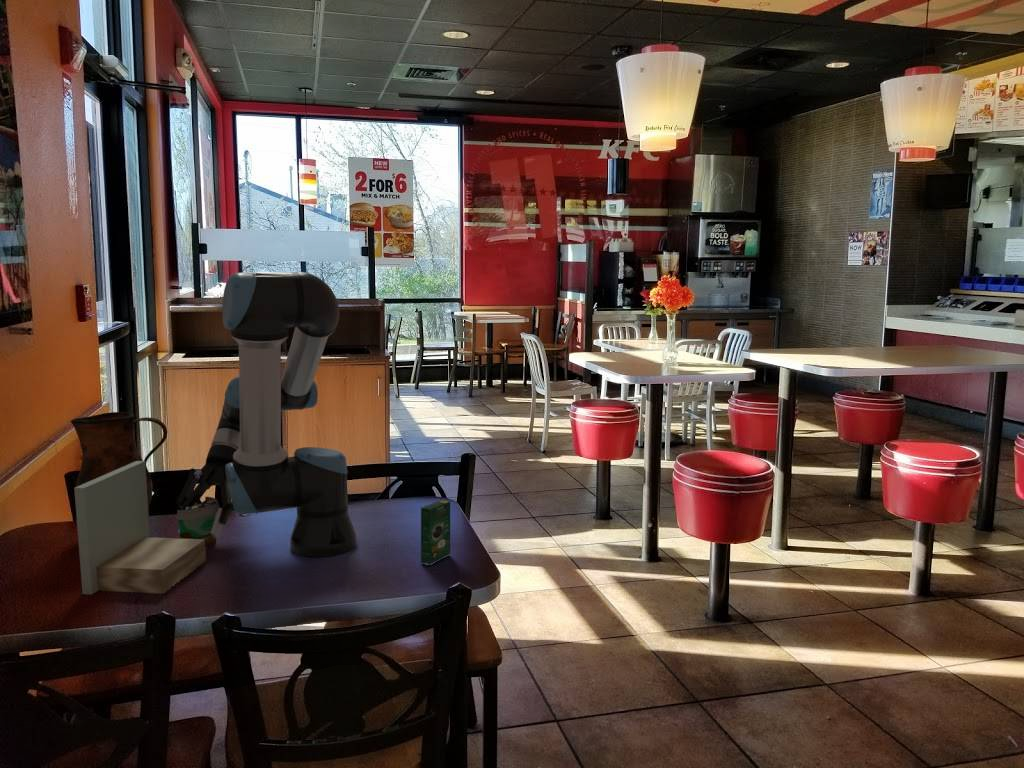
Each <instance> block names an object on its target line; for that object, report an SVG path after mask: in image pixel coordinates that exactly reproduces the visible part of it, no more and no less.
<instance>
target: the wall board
mask: <svg viewBox="0 0 1024 768" xmlns="http://www.w3.org/2000/svg"><path fill="white" fill-rule="evenodd" d="M73 489H74V501H75V502H74V503H75V512H76V513H75V514H76V515H75V516H76V527H77V528H76V529H77V539H78V553H79V563H80V565H79V568H80V578H81V579H80V580H81V592H82V595H94V594H95V593H96V592H98V583H97V569H96V567H97V566H99V565H100V564H102V563H104V562H105V561H107V560H109V559H110V558H112V557H113V556H115V555H117V554H118V553H120V552H122V551H123V550H125V549H127V548H128V547H130V546H131V545H133V544H135V543H136V542H138V541H140V540H141V539H143V538H144V537H151V533H150V531H151V530H150V515H149V506H148V497H147V482H146V467H145V461H144V460H143V461H135V462H133V463H131V464H128V465H126V466H124V467H121V468H119V469H117V470H114V471H112V472H110V473H108V474H105V475H103V476H101V477H98V478H96V479H94V480H91V481H89V482H87V483H84V484H82V485H80V486H77V487H76V486H75V487H73ZM93 593H94V594H93Z"/></svg>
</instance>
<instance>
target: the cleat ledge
mask: <svg viewBox="0 0 1024 768" xmlns="http://www.w3.org/2000/svg"><path fill="white" fill-rule="evenodd" d="M206 553H207V551H206V548H205V539H181V537H179V538H178V537H177V538H176V537H173V538H172V537H151V536H150V537H144V538H143V539H141V540H140V541H138V542H136V543H135V544H133V545H131V546H130V547H128V548H127V549H125V550H123V551H122V552H120V553H118V554H117V555H115V556H113V557H112V558H110V559H109V560H107V561H105V562H104V563H102V564H100V565H99V566H97V567H96V569H97V583H98V590H102V591H104V592H121V593H147V594H165V593H167V592H168V591H169V590H170V589H172V588H173V587H174V586H175V584H176V583H177V582H178V583H180V582H181V581H182V580H183V579H185V578H186V577H187V576H189V575H190V574H191V573H192V572H194V571H195V570H196V569H197V567H198V566H199V567H200V566H201V565H203V564H204V563H205V562H206V561H207V556H206V555H207V554H206ZM199 567H198V568H199ZM193 570H194V571H193ZM189 573H190V574H189ZM184 577H185V578H184ZM181 579H182V580H181ZM180 580H181V581H180ZM178 583H177V584H178ZM177 584H176V585H177ZM172 586H173V587H172ZM171 587H172V588H171ZM167 590H168V591H167Z"/></svg>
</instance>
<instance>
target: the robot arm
mask: <svg viewBox="0 0 1024 768" xmlns="http://www.w3.org/2000/svg"><path fill="white" fill-rule="evenodd" d="M221 304H222V306H221V312H222V317H221V319H222V325H223V327H224V328H225V329H226V330H229V331H230V336H231V338H232V339H233V340H234V341H235V342H236V343H237V344H238V371H239V372H238V373H239V374H238V375H237V376H236V377H233V378H232V379H230V381H229V383H228V385H227V387H226V390H225V393H224V399H223V400H224V403H223V405H222V410H221V415H220V419H219V422H218V425H217V427H216V430H215V433H214V436H213V438H212V441H211V444H210V448H209V449H208V453H207V456H206V460H205V464H204V465H203V466H202V468H199V469H195V468H194V467H191V468H190V469H189V472H188V473H189V474H188V478H187V480H186V482H185V483H184V486H183V488H182V490H181V492H180V494H179V496H178V498H177V500H176V502H175V503H176V504H177V506H178V507H179V509H180V510H187V509H188V508H189V507H191V506H192V505H195V504H198V502H199V501H200V500H201V498H202V497H203V496H204V494H205V493H206V492H207V490H209V489H211V487H212V486H219V487H220V493H221V495H220V496H221V507H220V508H218V512H217V515H216V518H215V521H214V524H213V527H212V530H211V534H212V536H213V537H214V538H215V539H216V540H217V539H219V536H220V532H221V530H222V527H223V525H226V524H227V522H228V519H229V515H230V512H233V511H235V512H236V513H238V514H240V515H249V514H251V515H252V514H256V515H258V514H259V513H266V512H272V511H275V512H276V511H279V510H280V511H281V510H286V509H293V508H295V509H296V519H295V523H294V525H293V529H292V532H291V535H290V540H289V542H290V545H289V546H290V551H291V552H292V553H293V554H296V555H297V556H298V555H299V556H303V557H311V558H312V557H314V558H319V557H320V558H323V557H333V556H337V555H341V554H345V553H347V552H349V551H351V550H353V549H354V548H355V547H356V546H357V535H356V534H357V533H356V530H355V528H354V526H353V523H352V521H351V517H350V515H349V508H348V507H349V503H348V500H349V499H348V498H349V497H348V474H349V471H348V465H347V458H346V455H345V454H344V453H343V452H341V451H339V450H336V449H332V448H327V447H317V446H316V447H315V446H313V447H312V446H309V447H306V446H305V447H300V448H297V449H295V451H294V453H293V456H289V454H288V451H287V450H286V449H285V448H283V447H282V443H281V442H282V441H281V439H282V438H281V436H282V434H281V432H282V426H281V425H282V415H281V414H282V411H293V410H297V411H298V410H304V409H311V408H314V407H315V406H316V405H317V403H318V396H319V395H318V394H319V393H318V385H317V383H316V381H315V380H314V379H315V377H316V375H317V370H318V368H319V365H320V361H321V359H322V355H323V353H324V350H325V347H326V344H327V342H328V338H329V337H330V336H331V335H333V334H334V332H335V331H336V328H337V327H338V324H339V320H340V306H339V303H338V299H337V297H336V295H335V293H334V291H333V290H332V289H331V287H330V286H329V284H328V283H326V282H325V281H324V280H323V279H321V278H320V277H319V276H317V275H314V274H312V273H309V272H304V271H292V272H291V271H289V272H288V271H253V270H252V271H247V272H244V271H243V272H235V273H233V274H231V275H230V276H229V277H228V279H227V281H226V283H225V286H224V290H223V295H222V303H221ZM289 328H294V331H293V335H292V339H291V343H290V346H289V350H288V353H287V356H286V360H285V363H284V368H283V372H282V369H281V368H282V365H281V364H282V359H281V358H282V349H281V348H282V343H284V342H285V341H286V340H287V339H288V338H289ZM201 476H202V477H201ZM198 482H199V483H198ZM177 533H178V534H179V535H180V529H179V528H178V530H177Z"/></svg>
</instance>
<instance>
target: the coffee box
mask: <svg viewBox="0 0 1024 768" xmlns="http://www.w3.org/2000/svg"><path fill="white" fill-rule="evenodd" d="M448 554H450V555H451V501H449V500H444V499H440V500H438V501H435V502H433V503H430V504H427V505H425V506H422V507H420V563H421V562H422V563H428V564H431V563H433V562H435V561H437V560H439V559H441V558H442V557H444V556H446V555H448Z"/></svg>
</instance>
